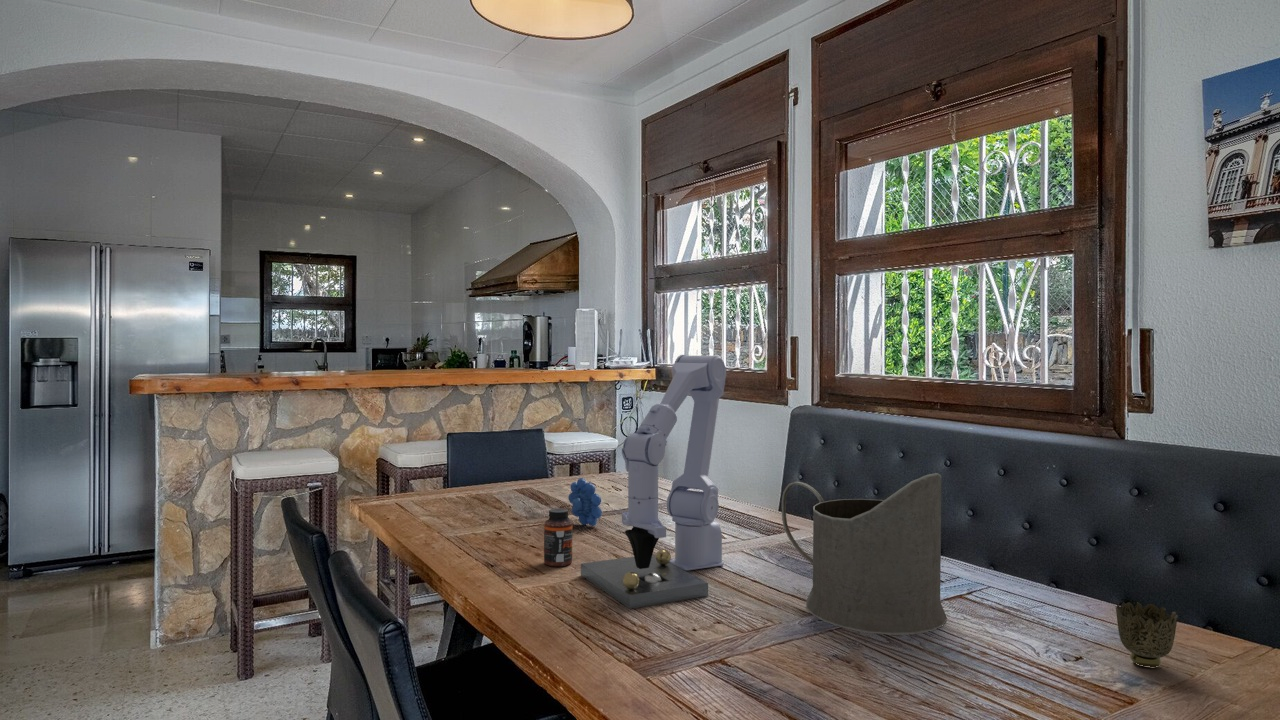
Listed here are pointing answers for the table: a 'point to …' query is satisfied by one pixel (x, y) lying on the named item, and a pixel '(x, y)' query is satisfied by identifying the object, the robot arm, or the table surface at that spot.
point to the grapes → (585, 502)
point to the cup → (1146, 632)
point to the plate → (669, 590)
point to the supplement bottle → (558, 538)
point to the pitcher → (877, 560)
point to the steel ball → (652, 578)
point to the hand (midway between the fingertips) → (642, 567)
